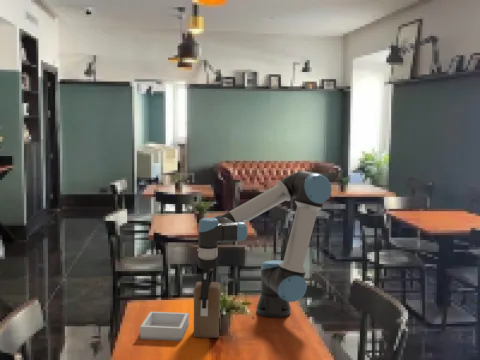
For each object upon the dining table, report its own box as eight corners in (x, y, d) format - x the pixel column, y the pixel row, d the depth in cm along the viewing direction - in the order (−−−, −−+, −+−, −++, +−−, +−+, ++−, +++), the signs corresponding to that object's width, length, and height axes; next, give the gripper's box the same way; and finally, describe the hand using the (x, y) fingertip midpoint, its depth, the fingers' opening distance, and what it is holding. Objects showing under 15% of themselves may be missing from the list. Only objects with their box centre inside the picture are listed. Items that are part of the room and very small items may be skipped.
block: (218, 338, 211) (219, 289, 208) (193, 338, 211) (193, 288, 209) (220, 328, 221) (220, 281, 218) (196, 328, 221) (196, 280, 219)
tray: (188, 324, 224) (188, 313, 224) (181, 340, 208) (181, 328, 208) (150, 323, 226) (150, 311, 225) (140, 338, 210) (140, 326, 209)
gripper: (202, 249, 225) (202, 298, 227) (193, 265, 200) (192, 320, 202) (220, 250, 224) (219, 299, 226) (213, 266, 199) (212, 321, 202)
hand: (206, 309), depth 214 cm, fingers open, 13 cm apart
